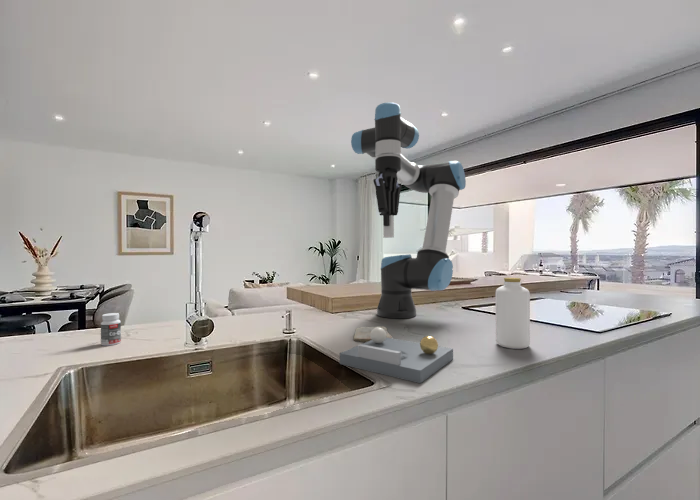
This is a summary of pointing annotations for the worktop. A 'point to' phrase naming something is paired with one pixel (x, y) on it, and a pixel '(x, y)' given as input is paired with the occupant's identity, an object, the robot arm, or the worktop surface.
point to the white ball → (378, 335)
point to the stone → (367, 333)
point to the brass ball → (429, 345)
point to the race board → (397, 359)
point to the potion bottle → (513, 314)
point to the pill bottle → (110, 329)
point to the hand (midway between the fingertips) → (388, 237)
